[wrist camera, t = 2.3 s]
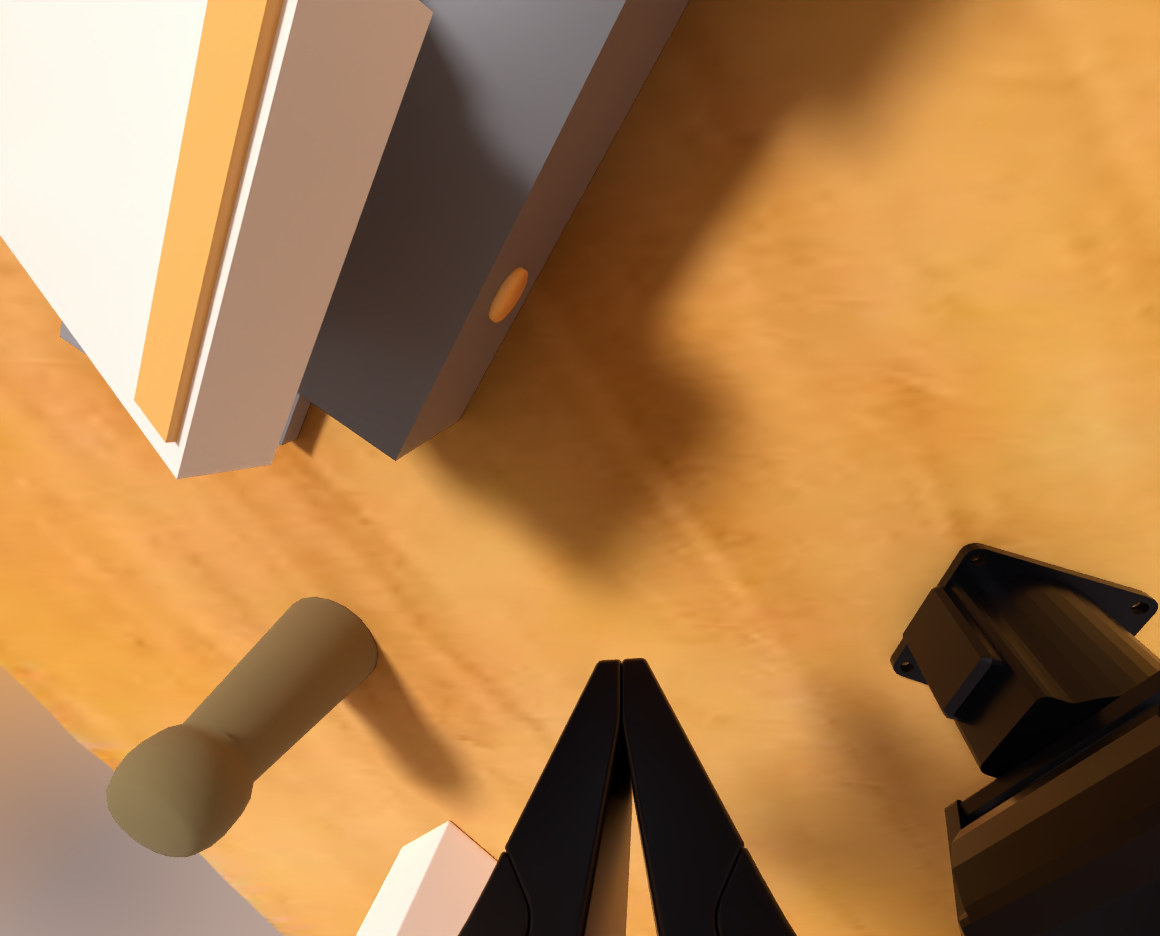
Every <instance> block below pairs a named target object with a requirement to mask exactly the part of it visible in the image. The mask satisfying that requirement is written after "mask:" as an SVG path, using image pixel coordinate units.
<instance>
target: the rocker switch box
mask: <svg viewBox="0 0 1160 936" xmlns="http://www.w3.org/2000/svg"><path fill="white" fill-rule="evenodd" d="M419 1H421V2H422V3H423V4H424V5H425V6H426V7H428V8H429V9H430V10H431V11H432V12H433V15H432V17H431V20H430V23H429V26H428V29H427V31H426V34H425V37H424V40H423V43H422V45H421V48H420V51H419V54H418V57H417V59H416V62H415V65H414V68H413V70H412V73H411V76H410V79H409V82H408V84H407V87H406V90H405V93H404V96H403V98H402V101H401V104H400V107H399V110H398V112H397V115H396V118H395V121H394V124H393V126H392V129H391V132H390V135H389V137H388V140H387V143H386V146H385V149H384V151H383V154H382V157H381V160H380V163H379V165H378V168H377V171H376V174H375V177H374V179H373V182H372V185H371V188H370V191H369V193H368V196H367V199H366V202H365V204H364V207H363V210H362V213H361V216H360V218H359V221H358V224H357V227H356V230H355V232H354V235H353V238H352V241H351V244H350V246H349V249H348V252H347V255H346V258H345V260H344V263H343V266H342V269H341V271H340V274H339V277H338V280H337V283H336V285H335V288H334V291H333V294H332V297H331V299H330V302H329V305H328V308H327V311H326V313H325V316H324V319H323V322H322V325H321V327H320V330H319V333H318V336H317V338H316V341H315V344H314V347H313V350H312V352H311V355H310V358H309V361H308V364H307V366H306V369H305V372H304V375H303V378H302V380H301V383H300V386H299V389H298V391H297V394H296V397H295V400H294V403H293V405H292V408H291V411H290V414H289V417H288V419H287V422H286V425H285V428H284V431H283V433H282V436H281V439H280V442H279V444H280V445H283V444H286V443H288V442H290V441H293V440H295V439H297V437H298V435H299V432H300V429H301V427H302V424H303V421H304V419H305V416H306V413H307V411H308V408H309V405H310V403H313V404H314V405H316V406H317V407H319V408H320V409H321V410H323V411H324V412H326V413H327V414H329V415H330V416H332V417H333V418H334V419H336V420H337V421H339V422H340V423H342V424H343V425H345V426H346V427H347V428H349V429H350V430H352V431H353V432H355V433H356V434H357V435H359V436H360V437H362V438H363V439H365V440H366V441H368V442H369V443H370V444H372V445H373V446H375V447H376V448H378V449H379V450H381V451H382V452H383V453H385V454H386V455H388V456H389V457H391V458H392V459H393V460H395V461H396V460H397V459H399V458H401V457H402V456H404V455H405V454H407V453H408V452H410V451H412V450H413V449H415V448H416V447H418V446H420V445H421V444H423V443H424V442H426V441H427V440H429V439H431V438H432V437H434V436H435V435H437V434H438V433H440V432H442V431H443V430H445V429H446V428H448V427H449V426H451V425H453V424H454V423H456V422H457V421H459V419H460V418H461V416H462V414H463V412H464V410H465V408H466V407H467V405H468V403H469V401H470V399H471V398H472V396H473V394H474V392H475V390H476V388H477V387H478V385H479V383H480V381H481V379H482V377H483V376H484V374H485V372H486V370H487V368H488V367H489V365H490V363H491V361H492V359H493V357H494V356H495V354H496V352H497V350H498V348H499V347H500V345H501V343H502V341H503V339H504V337H505V336H506V334H507V332H508V330H509V328H510V326H511V325H512V323H513V321H514V319H515V317H516V316H517V314H518V312H519V310H520V308H521V306H522V305H523V303H524V301H525V299H526V297H527V295H528V294H529V292H530V290H531V288H532V286H533V285H534V283H535V281H536V279H537V277H538V275H539V274H540V272H541V270H542V268H543V266H544V265H545V263H546V261H547V259H548V257H549V255H550V254H551V252H552V250H553V248H554V246H555V244H556V243H557V241H558V239H559V237H560V235H561V234H562V232H563V230H564V228H565V226H566V224H567V223H568V221H569V219H570V217H571V215H572V213H573V212H574V210H575V208H576V206H577V204H578V203H579V201H580V199H581V197H582V195H583V193H584V192H585V190H586V188H587V186H588V184H589V183H590V181H591V179H592V177H593V175H594V173H595V172H596V170H597V168H598V166H599V164H600V162H601V161H602V159H603V157H604V155H605V153H606V152H607V150H608V148H609V146H610V144H611V142H612V141H613V139H614V137H615V135H616V133H617V131H618V130H619V128H620V126H621V124H622V122H623V121H624V119H625V117H626V115H627V113H628V111H629V110H630V108H631V106H632V104H633V102H634V101H635V99H636V97H637V95H638V93H639V91H640V90H641V88H642V86H643V84H644V82H645V80H646V79H647V77H648V75H649V73H650V71H651V70H652V68H653V66H654V64H655V62H656V60H657V59H658V57H659V55H660V53H661V51H662V49H663V48H664V46H665V44H666V42H667V40H668V39H669V37H670V35H671V33H672V31H673V29H674V28H675V26H676V24H677V22H678V20H679V19H680V17H681V15H682V13H683V11H684V9H685V8H686V6H687V4H688V2H689V0H419ZM60 337H62V338H63V339H64V340H66V341H67V342H69V343H70V344H72V345H73V346H75V347H76V348H78V349H79V350H80V351H82V352H83V353H85V351H84V350H83V349H82V347H81V346H80V345H79V343H78V342H77V340H76V339H75V338H74V336H73V335H72V334H71V332H70V331H69V329H68V328H67V327H66V325H65V324H64V322H63V321H62V322H61V332H60ZM85 354H86V353H85ZM86 355H87V354H86Z"/></svg>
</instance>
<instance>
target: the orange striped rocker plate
mask: <svg viewBox="0 0 1160 936" xmlns="http://www.w3.org/2000/svg"><path fill="white" fill-rule="evenodd" d="M432 15H433V12H432V11H431V10H430V9H429V8H428V7H426V6H425V5H424V4H423V3H422V2H421V1H419V0H0V236H1V237H2V238H3V240H4V241H5V242H6V244H7V245H8V247H9V248H10V249H11V251H12V252H13V253H14V255H15V256H16V258H17V259H18V260H19V262H20V263H21V265H22V266H23V267H24V269H25V270H26V271H27V273H28V274H29V276H30V277H31V278H32V280H33V281H34V282H35V284H36V285H37V287H38V288H39V289H40V291H41V292H42V294H43V295H44V296H45V298H46V299H47V300H48V302H49V303H50V305H51V306H52V307H53V309H54V310H55V311H56V313H57V314H58V316H59V317H60V318H61V320H62V321H63V322H64V324H65V325H66V327H67V328H68V329H69V331H70V332H71V334H72V335H73V336H74V338H75V339H76V340H77V342H78V343H79V345H80V346H81V347H82V349H83V350H84V351H85V353H86V354H87V356H88V357H89V358H90V360H91V361H92V363H93V364H94V365H95V367H96V368H97V369H98V371H99V372H100V374H101V375H102V376H103V378H104V379H105V380H106V382H107V383H108V385H109V386H110V387H111V389H112V390H113V392H114V393H115V394H116V396H117V397H118V398H119V400H120V401H121V403H122V404H123V405H124V407H125V408H126V409H127V411H128V412H129V414H130V415H131V416H132V418H133V419H134V421H135V422H136V423H137V425H138V426H139V427H140V429H141V430H142V432H143V433H144V434H145V436H146V437H147V438H148V440H149V441H150V443H151V444H152V445H153V447H154V448H155V450H156V451H157V452H158V454H159V455H160V456H161V458H162V459H163V461H164V462H165V463H166V465H167V466H168V467H169V469H170V470H171V472H172V473H173V474H174V476H175V477H176V479H181V478H187V477H194V476H200V475H207V474H213V473H220V472H226V471H233V470H239V469H246V468H253V467H259V466H266V465H271V464H272V461H273V458H274V456H275V453H276V450H277V447H278V445H279V442H280V439H281V436H282V433H283V431H284V428H285V425H286V422H287V419H288V417H289V414H290V411H291V408H292V405H293V403H294V400H295V397H296V394H297V391H298V389H299V386H300V383H301V380H302V378H303V375H304V372H305V369H306V366H307V364H308V361H309V358H310V355H311V352H312V350H313V347H314V344H315V341H316V338H317V336H318V333H319V330H320V327H321V325H322V322H323V319H324V316H325V313H326V311H327V308H328V305H329V302H330V299H331V297H332V294H333V291H334V288H335V285H336V283H337V280H338V277H339V274H340V271H341V269H342V266H343V263H344V260H345V258H346V255H347V252H348V249H349V246H350V244H351V241H352V238H353V235H354V232H355V230H356V227H357V224H358V221H359V218H360V216H361V213H362V210H363V207H364V204H365V202H366V199H367V196H368V193H369V191H370V188H371V185H372V182H373V179H374V177H375V174H376V171H377V168H378V165H379V163H380V160H381V157H382V154H383V151H384V149H385V146H386V143H387V140H388V137H389V135H390V132H391V129H392V126H393V124H394V121H395V118H396V115H397V112H398V110H399V107H400V104H401V101H402V98H403V96H404V93H405V90H406V87H407V84H408V82H409V79H410V76H411V73H412V70H413V68H414V65H415V62H416V59H417V57H418V54H419V51H420V48H421V45H422V43H423V40H424V37H425V34H426V31H427V29H428V26H429V23H430V20H431V17H432Z"/></svg>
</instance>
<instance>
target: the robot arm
mask: <svg viewBox="0 0 1160 936" xmlns="http://www.w3.org/2000/svg"><path fill="white" fill-rule="evenodd" d="M977 554H982V555H981V557H980V558H979V559H977V560H971V558H972V557H973V556H974V555H977ZM1136 603H1140V604H1139V605H1137V606H1135V607H1132V606H1133V605H1134V604H1136ZM1157 609H1158V603H1157V602H1156V601H1155V600H1154V599H1153V598H1152V597H1150V596H1149V595H1148V594H1146V593H1144V592H1142V591H1140V590H1137V589H1133V588H1130V587H1126V586H1123V585H1120V584H1116V583H1113V582H1109V581H1106V580H1103V579H1099V578H1096V577H1092V576H1089V575H1086V574H1082V573H1079V572H1075V571H1072V570H1069V569H1065V568H1062V567H1058V566H1055V565H1052V564H1048V563H1045V562H1041V561H1038V560H1035V559H1031V558H1028V557H1024V556H1021V555H1018V554H1014V553H1011V552H1007V551H1004V550H1001V549H997V548H994V547H990V546H987V545H984V544H979V543H972V544H968V545H966V546H964V547H963V548H962V549H961V550H960V551H959V553H958V554H957V556H956V557H955V559H954V560H953V562H952V563H951V565H950V567H949V568H948V570H947V571H946V573H945V574H944V576H943V577H942V579H941V580H940V582H939V584H938V585H937V586H936V587H935V588H933V589H932V590H931V591H930V593H929V594H928V596H927V597H926V599H925V601H924V602H923V604H922V605H921V607H920V608H919V610H918V611H917V613H916V614H915V616H914V618H913V619H912V621H911V622H910V624H909V625H908V627H907V628H906V630H905V632H904V633H903V637H904V638H903V639H902V641H901V642H900V644H899V645H898V647H897V648H896V650H895V652H894V653H893V655H892V656H891V659H890V662H891V665H892V667H893V669H894V671H895V672H896V673H897V674H899V675H901V676H903V677H906V678H909V679H912V680H915V681H918V682H921V683H924V684H927V685H929V687H930V689H931V691H932V693H933V695H934V697H935V698H936V700H937V702H938V704H939V706H940V708H941V710H942V712H943V714H944V715H945V716H946V718H949V719H952V720H954V721H955V723H956V725H957V727H958V729H959V730H960V732H961V734H962V736H963V738H964V740H965V742H966V743H967V745H968V747H969V749H970V751H971V753H972V755H973V757H974V758H975V760H976V762H977V764H978V766H979V768H980V770H981V771H982V772H983V773H984V774H986V775H989V776H992V777H995V778H997V779H995V780H994V781H992V782H991V783H989V784H988V785H986V786H985V787H983V788H982V789H980V790H979V791H977V792H976V793H974V794H973V795H971V796H970V797H968V798H967V799H965V800H964V801H961V800H957V801H955V802H954V803H952V804H951V805H949V806H948V807H946V808H945V816H946V824H947V833H948V841H949V849H950V858H951V866H952V875H953V883H954V892H955V900H956V908H957V917H958V923H959V927H960V932H961V936H1160V659H1159V658H1158V657H1157V656H1156V655H1155V654H1153V653H1152V652H1151V651H1150V650H1149V649H1148V648H1147V647H1145V646H1144V645H1143V644H1142V643H1141V642H1140V641H1139V640H1137V639H1136V638H1135V637H1134V636H1135V635H1136V634H1137V633H1138V632H1139V631H1140V630H1141V628H1142V627H1143V626H1144V625H1145V624H1146V623H1147V622H1148V621H1149V620H1150V618H1151V617H1152V616H1153V615H1154V614H1155V613H1156V611H1157ZM905 662H908V663H909V664H907V665H901V664H902V663H905ZM632 790H633V797H634V803H635V809H636V815H637V821H638V827H639V833H640V839H641V845H642V851H643V856H644V862H645V868H646V874H647V880H648V886H649V892H650V898H651V904H652V910H653V916H654V921H655V927H656V933H657V936H797V935H796V934H795V932H794V930H793V929H792V927H791V926H790V924H789V922H788V921H787V919H786V918H785V916H784V914H783V912H782V911H781V909H780V907H779V905H778V904H777V902H776V900H775V898H774V897H773V895H772V893H771V891H770V889H769V888H768V886H767V884H766V882H765V881H764V879H763V877H762V875H761V873H760V872H759V870H758V868H757V866H756V864H755V862H754V860H753V859H752V857H751V855H750V853H749V851H748V849H747V848H744V842H743V840H742V839H741V837H740V835H739V833H738V831H737V829H736V827H735V825H734V824H733V822H732V820H731V818H730V816H729V814H728V812H727V810H726V809H725V807H724V805H723V803H722V801H721V799H720V797H719V795H718V794H717V792H716V790H715V788H714V786H713V784H712V782H711V780H710V779H709V777H708V775H707V773H706V771H705V769H704V767H703V765H702V764H701V762H700V760H699V758H698V756H697V754H696V752H695V750H694V749H693V747H692V745H691V743H690V741H689V739H688V737H687V735H686V734H685V732H684V730H683V728H682V726H681V724H680V722H679V720H678V719H677V717H676V715H675V713H674V711H673V709H672V707H671V705H670V704H669V702H668V700H667V698H666V696H665V694H664V692H663V691H662V689H661V687H660V685H659V683H658V681H657V679H656V677H655V676H654V674H653V672H652V670H651V668H650V666H649V664H648V662H647V661H646V660H645V659H644V658H633V659H624V660H623V662H621V661H620V660H617V659H616V660H602V661H599V662H598V663H597V664H596V666H595V668H594V670H593V672H592V674H591V676H590V678H589V680H588V682H587V684H586V686H585V688H584V690H583V692H582V694H581V696H580V698H579V700H578V702H577V704H576V706H575V708H574V710H573V712H572V714H571V716H570V718H569V720H568V722H567V724H566V726H565V728H564V730H563V732H562V734H561V736H560V738H559V740H558V742H557V744H556V746H555V748H554V750H553V752H552V754H551V756H550V758H549V760H548V762H547V764H546V766H545V768H544V770H543V772H542V774H541V776H540V778H539V780H538V782H537V784H536V786H535V788H534V790H533V792H532V794H531V796H530V798H529V800H528V802H527V804H526V806H525V808H524V810H523V812H522V814H521V816H520V818H519V820H518V822H517V824H516V826H515V828H514V830H513V832H512V834H511V836H510V838H509V840H508V842H507V844H506V846H505V850H506V852H507V853H506V852H502V854H501V855H500V857H499V859H498V861H497V863H496V865H495V867H494V869H493V871H492V873H491V875H490V877H489V879H488V881H487V883H486V885H485V887H484V889H483V891H482V893H481V894H480V896H479V898H478V900H477V902H476V904H475V906H474V908H473V909H472V911H471V913H470V915H469V917H468V919H467V921H466V922H465V924H464V926H463V927H462V929H461V931H460V932H459V934H458V936H626V918H627V899H628V879H629V860H630V840H631V820H632Z"/></svg>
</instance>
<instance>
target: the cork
mask: <svg viewBox="0 0 1160 936" xmlns="http://www.w3.org/2000/svg"><path fill="white" fill-rule="evenodd" d="M377 657H378V656H377V649H376V643H375V641H374V639H373V637H372V635H371V633H370V631H369V629H368V628H367V627H366V626H365V625H364V623H363V622H362V621H361V620H360V619H359V617H357V616H356V615H355V614H354V613H352V612H351V611H350V610H348V609H347V608H346V607H344V606H342V605H340V604H338V603H336V602H334V601H331V600H328V599H323V598H318V597H312V598H304V599H301V600H299V601H298V602H296V603H294V604H293V605H292V606H291V607H290V608H289V609H288V610H287V611H286V612H285V613H284V615H283V616H282V617H281V618H280V619H279V620H278V621H277V622H276V623H275V624H274V625H273V627H272V628H271V629H270V630H269V631H268V632H267V633H266V634H265V635H264V636H263V637H262V638H261V640H260V641H259V642H258V643H257V644H256V645H255V646H254V647H253V648H252V649H251V650H250V651H249V653H248V654H247V655H246V656H245V657H244V658H243V659H242V660H241V661H240V662H239V663H238V665H237V666H236V667H235V668H234V669H233V670H232V671H231V672H230V673H229V674H228V675H227V676H226V678H225V679H224V680H223V681H222V682H221V683H220V684H219V685H218V686H217V687H216V688H215V690H214V691H213V692H212V693H211V694H210V695H209V696H208V697H207V698H206V699H205V700H204V701H203V703H202V704H201V705H200V706H199V707H198V708H197V709H196V710H195V711H194V712H193V713H192V714H191V716H190V717H189V718H188V719H187V720H186V721H185V722H184V723H183V724H181V725H176V726H172V727H168V728H166V729H164V730H162V731H160V732H158V733H157V734H155V735H153V736H152V737H150V738H148V739H146V740H145V741H143V742H142V743H140V744H139V745H138V746H137V747H136V748H134V749H133V750H132V751H131V752H130V753H128V754H127V756H126V757H125V758H124V759H123V761H122V762H121V763H120V764H119V765H118V767H117V768H116V770H115V772H114V774H113V776H112V778H111V781H110V783H109V785H108V787H107V789H106V795H107V802H108V809H109V811H110V813H111V815H112V817H113V818H114V820H115V821H116V822H117V823H118V825H119V826H120V827H121V828H122V829H123V830H124V831H125V832H126V833H127V834H128V835H129V836H130V837H131V838H133V839H134V840H135V841H137V842H138V843H140V844H141V845H142V846H144V847H146V848H148V849H150V850H152V851H154V852H156V853H159V854H162V855H165V856H170V857H188V856H191V855H195V854H197V853H199V852H201V851H203V850H205V849H207V848H209V847H211V846H212V845H213V844H214V843H216V842H217V841H218V840H219V839H220V838H222V837H223V836H224V835H225V834H226V833H227V831H228V830H229V829H230V828H231V827H232V825H233V824H234V823H235V822H236V821H237V819H238V818H239V817H240V816H241V814H242V813H243V811H244V809H245V807H246V806H247V804H248V802H249V800H250V798H251V793H252V788H253V782H254V781H255V780H257V779H258V778H259V777H260V776H261V775H262V774H263V773H264V772H265V771H266V770H267V769H268V768H269V767H271V766H272V765H273V764H274V763H275V762H276V761H277V760H278V759H279V758H280V757H281V756H282V755H283V754H284V753H286V752H287V751H288V750H289V749H290V748H291V747H292V746H293V745H294V744H295V743H296V742H297V741H298V740H300V739H301V738H302V737H303V736H304V735H305V734H306V733H307V732H308V731H309V730H310V729H311V728H312V727H314V726H315V725H316V724H317V723H318V722H319V721H320V720H321V719H322V718H323V717H324V716H325V715H326V714H328V713H329V712H330V711H331V710H332V709H333V708H334V707H335V706H336V705H337V704H338V703H339V702H340V701H341V700H343V699H344V698H345V697H346V696H347V695H348V694H349V693H350V692H351V691H352V690H353V689H354V688H355V687H357V686H358V685H359V684H360V683H361V682H362V681H363V680H364V679H365V678H366V677H367V676H368V675H369V674H370V673H371V672H372V671H373V669H374V668H375V666H376V661H377Z"/></svg>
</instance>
